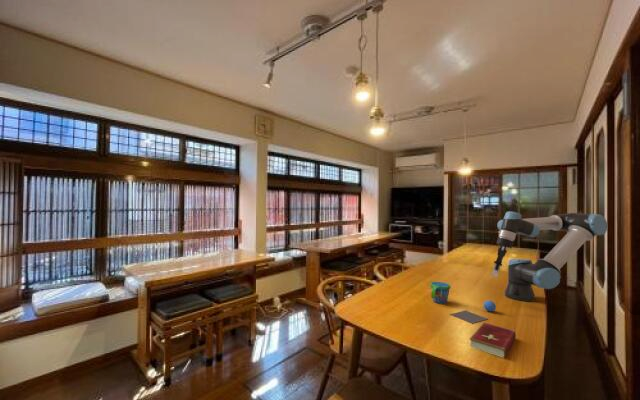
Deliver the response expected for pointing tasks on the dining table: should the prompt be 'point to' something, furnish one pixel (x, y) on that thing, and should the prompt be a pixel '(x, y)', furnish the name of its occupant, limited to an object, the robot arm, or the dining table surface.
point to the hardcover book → (493, 339)
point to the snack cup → (440, 292)
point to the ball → (489, 306)
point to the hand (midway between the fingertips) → (494, 276)
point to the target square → (469, 317)
